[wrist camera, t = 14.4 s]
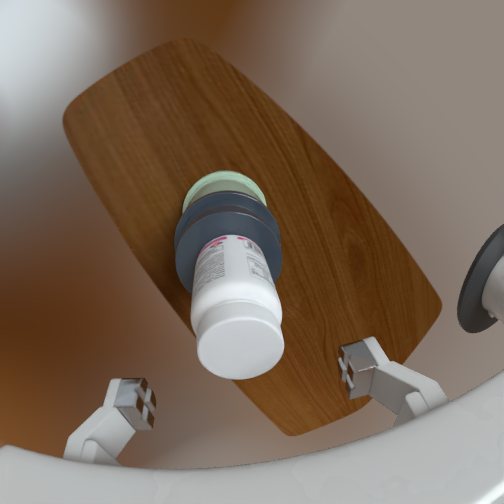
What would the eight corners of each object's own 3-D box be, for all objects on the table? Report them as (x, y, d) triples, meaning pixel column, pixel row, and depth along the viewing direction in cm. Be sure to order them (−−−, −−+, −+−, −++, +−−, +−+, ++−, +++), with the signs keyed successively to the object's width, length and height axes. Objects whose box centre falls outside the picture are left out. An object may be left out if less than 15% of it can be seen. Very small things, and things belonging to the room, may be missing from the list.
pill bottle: (198, 296, 21) (193, 387, 13) (193, 234, 19) (179, 312, 11) (264, 292, 22) (288, 380, 14) (266, 231, 20) (297, 306, 12)
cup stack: (259, 163, 29) (285, 190, 18) (271, 241, 33) (296, 303, 22) (175, 180, 29) (150, 216, 18) (193, 256, 33) (184, 323, 22)
